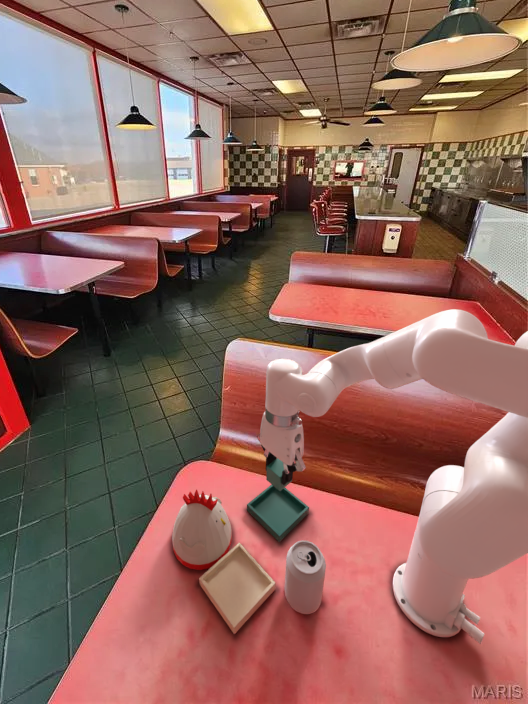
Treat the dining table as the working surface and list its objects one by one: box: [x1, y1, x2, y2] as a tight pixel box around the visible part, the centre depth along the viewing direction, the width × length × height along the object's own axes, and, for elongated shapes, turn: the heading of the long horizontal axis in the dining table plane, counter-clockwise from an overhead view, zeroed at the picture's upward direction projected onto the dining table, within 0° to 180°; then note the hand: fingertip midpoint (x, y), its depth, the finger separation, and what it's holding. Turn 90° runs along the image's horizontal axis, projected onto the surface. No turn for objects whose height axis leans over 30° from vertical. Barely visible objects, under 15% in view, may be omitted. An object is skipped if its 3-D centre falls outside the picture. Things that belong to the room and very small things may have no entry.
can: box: [283, 539, 327, 615], centre depth 65 cm, size 8×8×12 cm
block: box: [265, 458, 293, 491], centre depth 80 cm, size 4×4×4 cm
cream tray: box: [198, 541, 277, 635], centre depth 68 cm, size 11×11×2 cm
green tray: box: [246, 484, 310, 543], centre depth 84 cm, size 11×11×2 cm
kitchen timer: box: [171, 488, 233, 571], centre depth 75 cm, size 14×14×15 cm
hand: (278, 474), depth 80 cm, fingers closed on block, 4 cm apart
